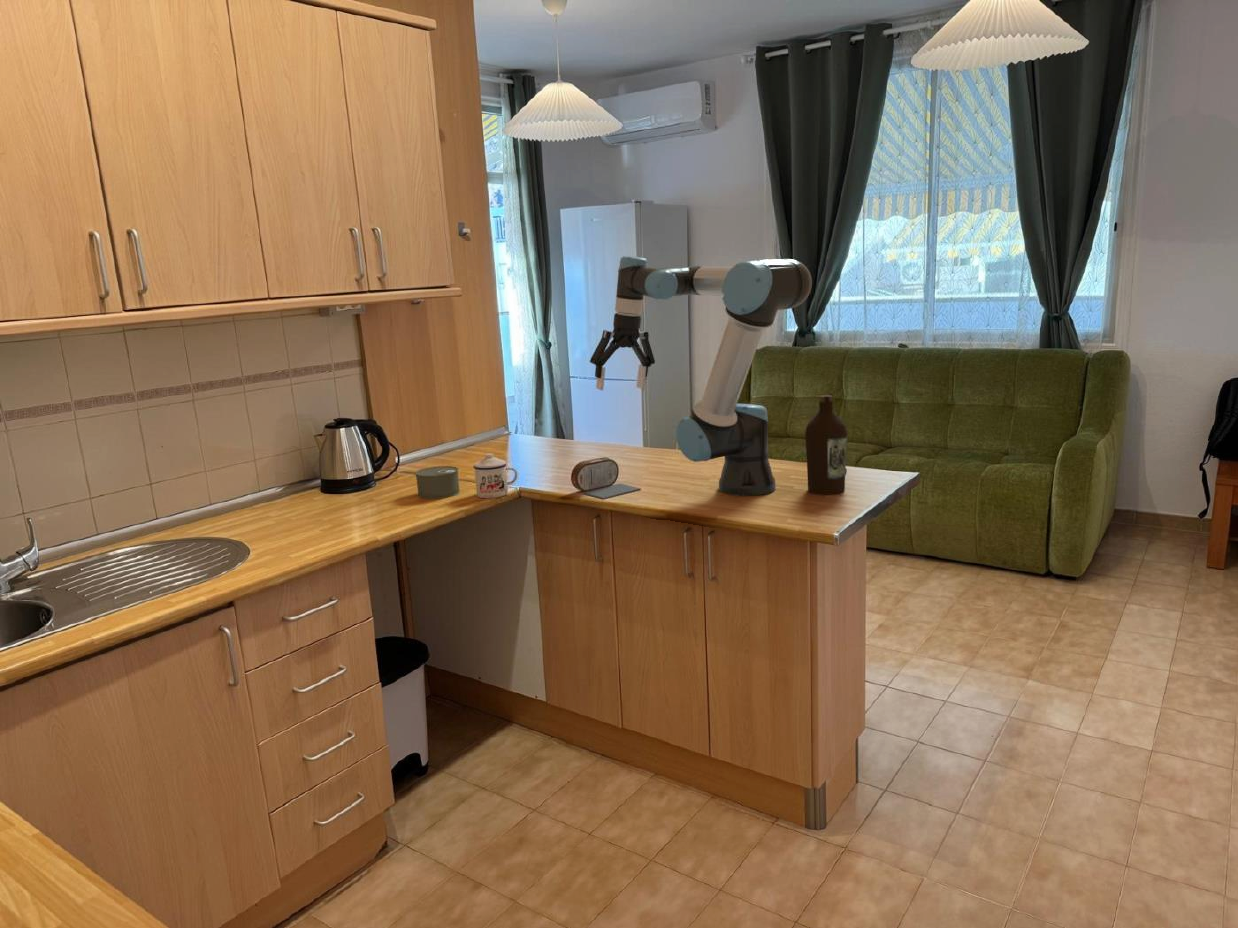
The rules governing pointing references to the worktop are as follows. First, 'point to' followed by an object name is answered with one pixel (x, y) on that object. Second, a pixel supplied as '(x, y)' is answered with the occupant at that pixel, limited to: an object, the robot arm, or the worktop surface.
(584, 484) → the tin
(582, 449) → the worktop surface
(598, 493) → the mat
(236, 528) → the worktop surface
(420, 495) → the can
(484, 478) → the teacup with lid
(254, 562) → the worktop surface
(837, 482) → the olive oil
